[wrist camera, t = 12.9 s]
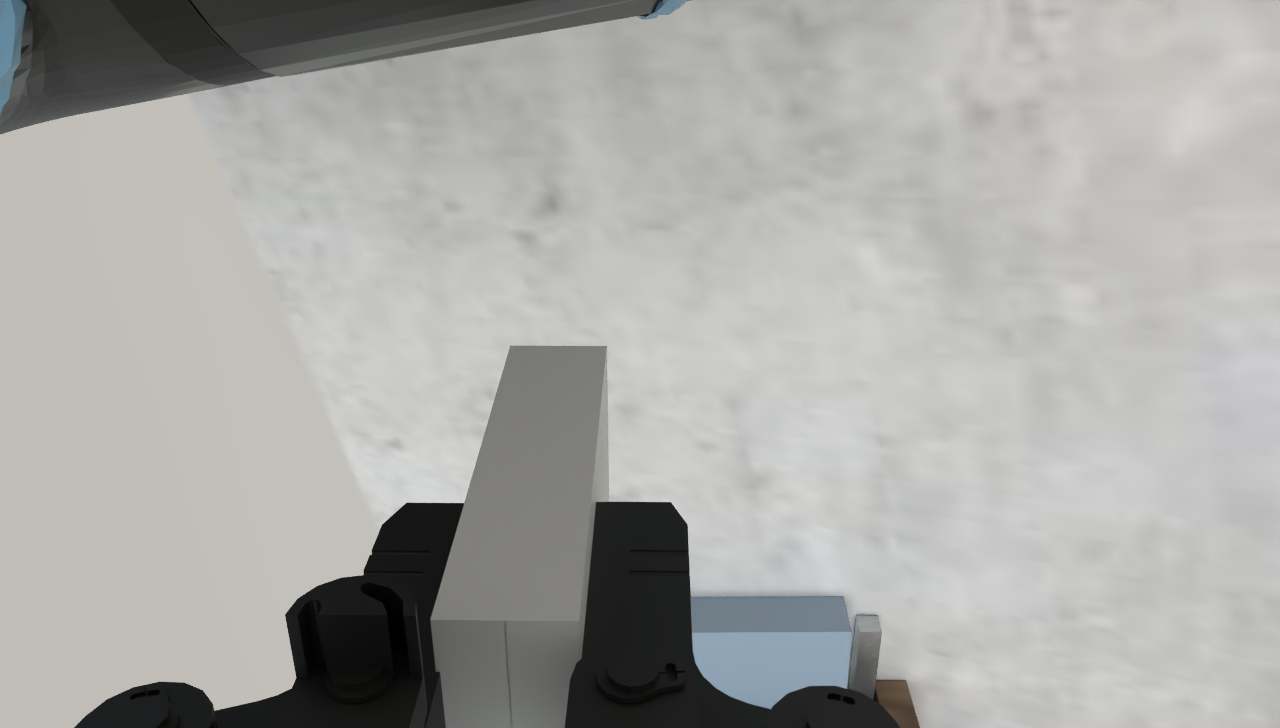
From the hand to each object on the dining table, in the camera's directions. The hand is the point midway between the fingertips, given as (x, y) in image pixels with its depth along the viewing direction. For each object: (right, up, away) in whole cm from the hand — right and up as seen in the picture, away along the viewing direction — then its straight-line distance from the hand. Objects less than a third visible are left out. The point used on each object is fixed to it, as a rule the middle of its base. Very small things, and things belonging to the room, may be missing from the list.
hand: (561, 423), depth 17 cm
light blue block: (+6, -14, +37) cm, 40 cm away
